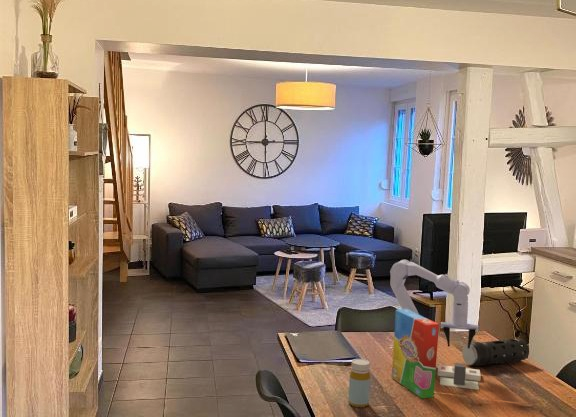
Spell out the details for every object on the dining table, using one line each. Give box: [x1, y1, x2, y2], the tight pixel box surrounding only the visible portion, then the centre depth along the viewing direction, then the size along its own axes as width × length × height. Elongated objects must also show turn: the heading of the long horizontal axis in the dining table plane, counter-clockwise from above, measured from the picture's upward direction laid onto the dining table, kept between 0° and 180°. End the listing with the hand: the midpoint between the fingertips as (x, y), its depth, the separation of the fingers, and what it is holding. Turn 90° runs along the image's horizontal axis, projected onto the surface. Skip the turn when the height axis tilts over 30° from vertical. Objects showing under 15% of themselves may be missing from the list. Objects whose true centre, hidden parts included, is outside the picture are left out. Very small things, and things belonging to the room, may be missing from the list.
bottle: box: [347, 358, 371, 408], centre depth 208 cm, size 7×7×15 cm
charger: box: [452, 362, 467, 385], centre depth 230 cm, size 4×4×7 cm
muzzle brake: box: [461, 337, 530, 367], centre depth 254 cm, size 10×28×10 cm, turn 112°
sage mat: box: [439, 376, 480, 391], centre depth 230 cm, size 14×8×1 cm, turn 75°
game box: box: [391, 308, 440, 399], centre depth 225 cm, size 21×6×27 cm, turn 22°
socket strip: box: [437, 364, 482, 382], centre depth 239 cm, size 16×7×3 cm, turn 75°
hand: (458, 346), depth 243 cm, fingers open, 7 cm apart
